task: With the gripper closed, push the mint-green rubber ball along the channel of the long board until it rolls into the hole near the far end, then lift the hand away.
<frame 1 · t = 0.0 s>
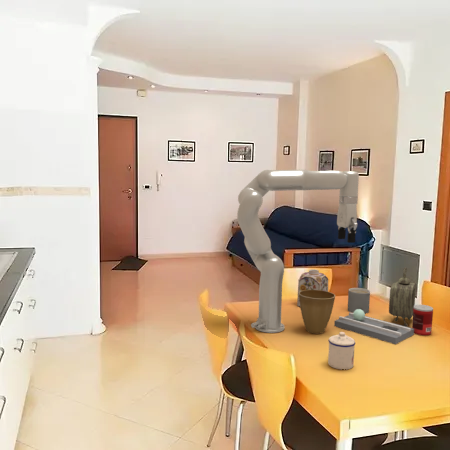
hand: (346, 240, 203), 37 cm above the table, tool pointing down, fingers open, 9 cm apart
canned food: (421, 333, 200), on the table
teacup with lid: (339, 363, 168), on the table
ball: (359, 315, 206), point 5 cm above the table, touching board
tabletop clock: (400, 322, 213), on the table
board: (373, 330, 202), on the table
plant pot: (315, 331, 200), on the table
coffee mug: (357, 310, 230), on the table
decorative jar: (312, 306, 236), on the table
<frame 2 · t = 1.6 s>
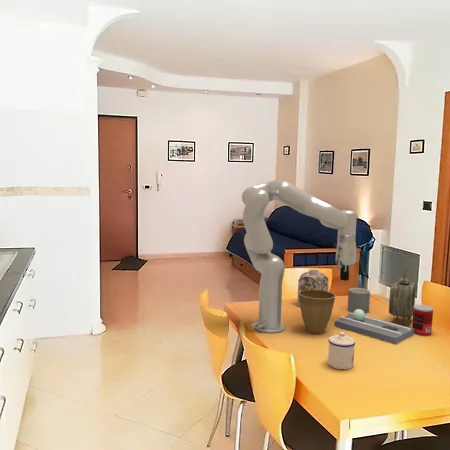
hand: (344, 279, 210), 19 cm above the table, tool pointing down, fingers closed
nothing on the table moved.
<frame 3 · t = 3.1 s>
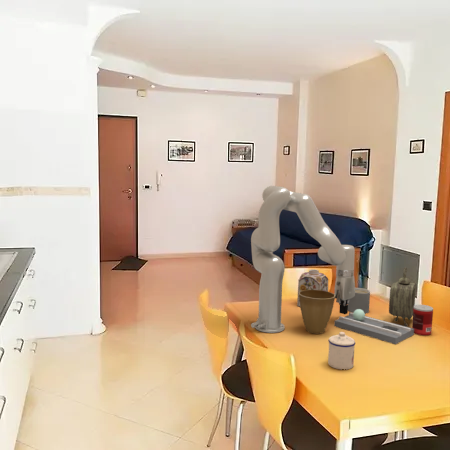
hand: (343, 313, 212), 4 cm above the table, tool pointing down, fingers closed
nothing on the table moved.
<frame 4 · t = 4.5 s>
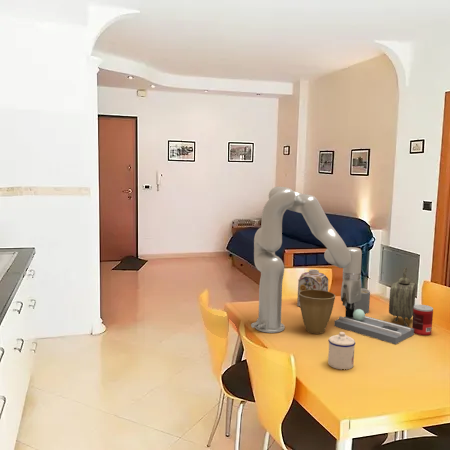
hand: (349, 316, 210), 3 cm above the table, tool pointing down, fingers closed
nothing on the table moved.
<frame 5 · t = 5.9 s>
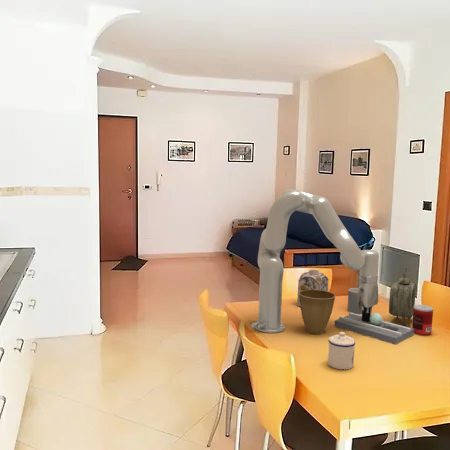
hand: (365, 321, 204), 3 cm above the table, tool pointing down, fingers closed
ball: (375, 318, 201), point 5 cm above the table, tilted 172°, touching board
everything else where it was.
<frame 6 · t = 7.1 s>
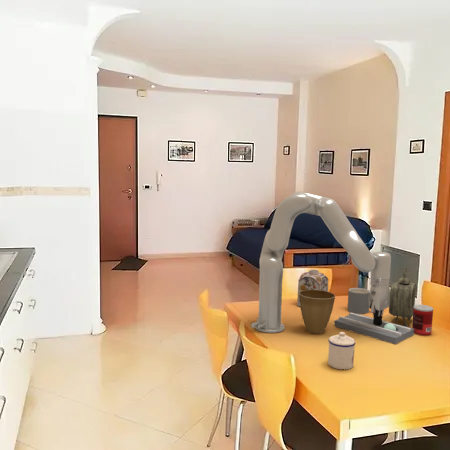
hand: (377, 324, 200), 3 cm above the table, tool pointing down, fingers closed
ball: (389, 329, 195), point 2 cm above the table, tilted 54°
everything else where it was.
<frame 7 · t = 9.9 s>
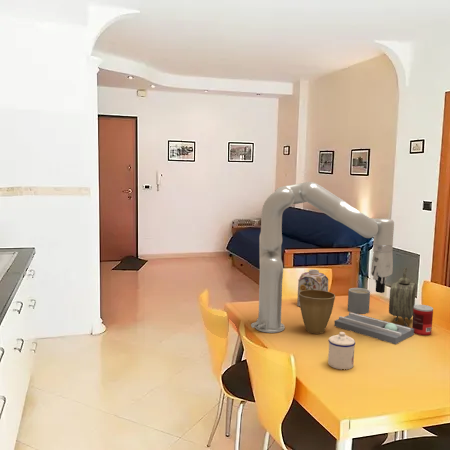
hand: (379, 292, 198), 17 cm above the table, tool pointing down, fingers closed
ball: (390, 329, 196), point 2 cm above the table, tilted 36°
everything else where it was.
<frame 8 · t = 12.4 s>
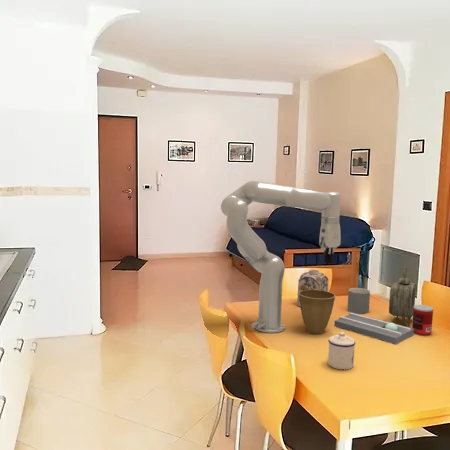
hand: (328, 262, 207), 27 cm above the table, tool pointing down, fingers closed
ball: (391, 328, 196), point 2 cm above the table, tilted 29°
everything else where it was.
at the end: ball 0.9 cm from the target spot on the board, point 2.5 cm above the board's base; ball moved 14.9 cm from its start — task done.
